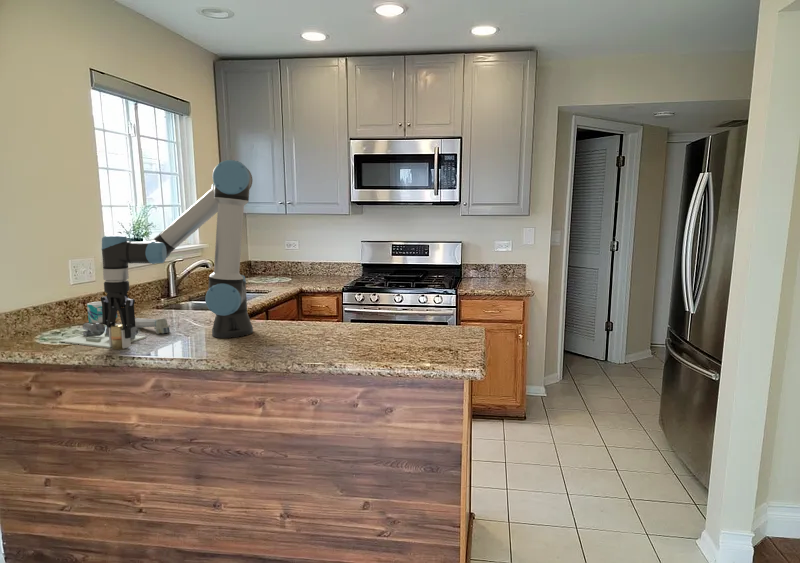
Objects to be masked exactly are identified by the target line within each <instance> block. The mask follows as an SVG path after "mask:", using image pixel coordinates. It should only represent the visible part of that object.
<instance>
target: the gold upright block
mask: <svg viewBox="0 0 800 563" xmlns="http://www.w3.org/2000/svg"><path fill="white" fill-rule="evenodd" d="M126 326H127V325H126ZM122 328H123V326H122V323H121V324H117V325H113V326H111V335H112V336H111V340H112V346H113V347H112V350H114V351H118V350H119V351H120V350H126V349H129V347H127V348H122V333H121V330H122Z"/></svg>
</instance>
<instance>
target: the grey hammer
mask: <svg viewBox="0 0 800 563" xmlns="http://www.w3.org/2000/svg"><path fill="white" fill-rule="evenodd" d="M135 327H137V328H138V329H139V328H140V329H141V328H153V329H154V330H155V334H156V335H159V334H160V335H161V334H166V333H167V334H168V333H170V332H171V331H170V327H171V325H170V324H168V320H167V319H166V317H161V318H139V317H135Z"/></svg>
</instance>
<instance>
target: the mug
mask: <svg viewBox="0 0 800 563" xmlns="http://www.w3.org/2000/svg"><path fill="white" fill-rule="evenodd" d="M86 308H87V318H88V320H87V321H88V323H90V324H95V323H100V324H103V320H102V302H101V300H100V301H92V302H88V303H86ZM117 318H118V315H117V316H116V319H117ZM106 321H107V320H106Z"/></svg>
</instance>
